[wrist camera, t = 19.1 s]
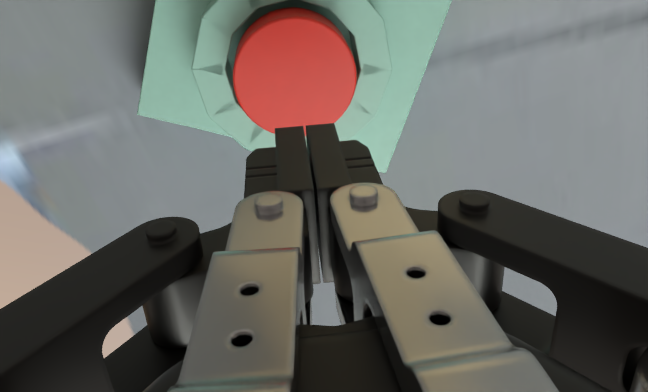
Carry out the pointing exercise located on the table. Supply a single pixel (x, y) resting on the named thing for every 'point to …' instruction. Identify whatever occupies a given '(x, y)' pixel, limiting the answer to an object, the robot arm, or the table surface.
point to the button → (293, 70)
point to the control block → (220, 49)
